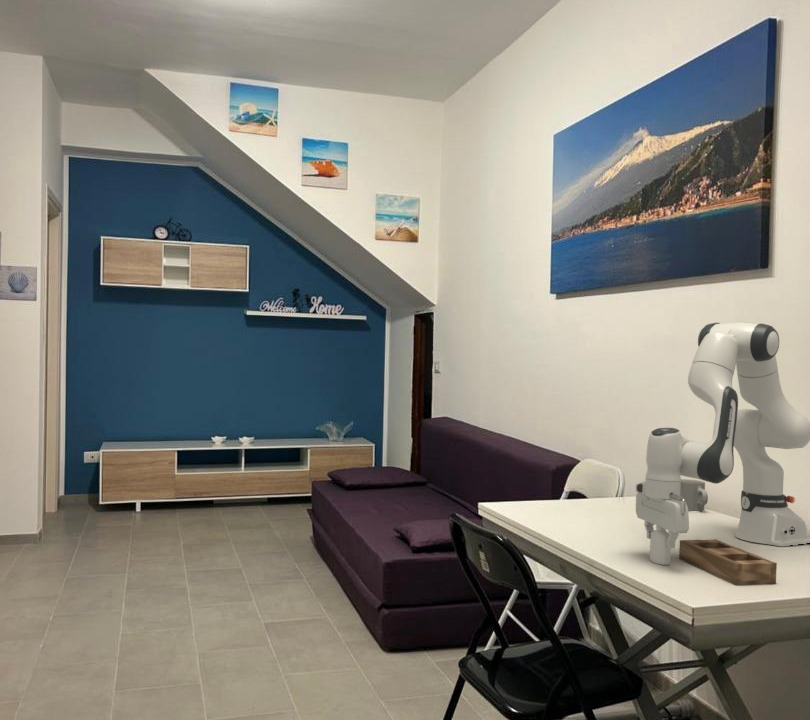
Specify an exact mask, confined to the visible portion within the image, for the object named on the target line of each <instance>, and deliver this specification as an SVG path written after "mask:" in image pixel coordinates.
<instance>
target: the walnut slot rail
mask: <svg viewBox="0 0 810 720" xmlns="http://www.w3.org/2000/svg"><path fill="white" fill-rule="evenodd" d="M678 553H679V554H678V555H679V556H678V559H679V560H680V561H683V562H684V563H687V564H689V565H691V566H693V567H696V568H697V569H700V570H702V571H704V572H706V573H709V574H711V575H713V576H714V577H717V578H719V579H721V580H723V581H726V582H728V583H730V584H732V585H734V586H749V585H750V586H752V585H753V586H756V585H757V586H758V585H776V584H777V565H778V564H777V562H774V561H773V560H770V559H767V558H764V557H761V556H759V555H756V554H754V553H752V552H749V551H747V550H744V549H741V548H739V547H738V546H737V547H736V546H734V545H731V544H728V543H726V542H724V541H722V540H718V539H681V540H679V552H678Z"/></svg>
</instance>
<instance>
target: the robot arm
mask: <svg viewBox="0 0 810 720" xmlns="http://www.w3.org/2000/svg"><path fill="white" fill-rule="evenodd" d="M697 337H698V338H697V345H698V348H697V351H696V352H695V355H694V357H693V359H692V363H691V366H690V369H689V373H688V377H687V383H688V387H689V389H690V390H691V392H692V393H693V394H694V396H696V397H697V398H698V399H700V400H701V401H703V402H704V403H706V404H708V405H710V406H712V407H713V408H714V413H715V416H714V422H713V430H712V438H711V439H710V441H709V442H702V441H694V440H689V439H687V438H685V437H684V436H683V435H681V434H682V433H681V431H680V430H679V429H677V428H675V427H659V428H655V429H653V430H652V431H650V433H649V437H648V439H647V446H646V447H647V448H646V457H645V458H646V459H645V460H646V466H647V468H646V469H647V470H646V473H645V481H641V482H638V483H636V484H635V491H636V492H637V493H636V495H635V514H636V517H637V518H638V519H640V520H642V521H644V527H645V531H646V538H647V539H649V540H651V532H652V531H654V530H655V529H654V526H656V525H657V526H659V527H662V528H664V529H666V531H668V534H669V538H668V540H666V546H667V547H669V548H671V549H675V547H676V541H677V539H678V537H679V535H680V534H688V531H689V529H690V519H689V518H690V517H689V516H690V515H689V511H688V507H687V505H686V502H685V501H684V499H683V497H682V496H680V490H681V479H682V476H683V477H686V478H691V479H695V480H697V479H698V480H700V481H703V482H709V483H712V484H716V485H717V484H720V483H722V482H724V481H725V480H726V479H728V478H729V477H730V475H731V474H732V473H733V470H734V467H735V465H734V464H735V461H734V460H735V459H734V457H735V455H734V448H735V450H736V452H737V453H738V455H739V457H740V460H741V464H742V476H743V477H742V481H743V482H742V483H743V484H742V490H741V495H740V507H741V511H740V517H739V523H738V527H737V529H736V533H735V535H734V536H735V537H736V538H737V539H740V540H743V541H746V542H751V543H757V544H764V545H771V546H776V547H790V545H793V546H799V545H798V544H804V545H807V544H806V543H810V536H808V532H807V531H808V528H807V525H806V522H805V520H804V519H803V518H801V517H800V516H799V515H798V514H797V513H795V511H793V510H792V509H791V508H790V507H788V506H789V505H788V503H790V504H794V503H795V502H796V498H795V496H791V495H785V494H784V481H785V480H784V479H785V478H784V476H785V473H784V472H785V471H784V469H783V467H782V466H781V464H780V463H779V462H777V461H776V460H774V459H773V458H771V457H770V456H769V455H768V454H767V450H766V448H772V449H781V450H792V449H793V450H794V449H803V448H805V447H806V446H807V445H808V444H809V442H810V420H809V419H808V418H807V417H806V416H805V415H804V414H801V413H800V412H799V411H798V410H796V409H795V408H794V407H793V406H792V405H791V404H790V403H789V401H788V400H787V399H786V397H785V395H784V393H783V390H782V386H781V381H780V376H779V368H778V362H777V356H776V355H777V353H778V351H779V348H780V336H779V333H778V330H776V328H774V327H773V326H772V325H769V324H766V323H753V322H742V321H737V322H722V323H720V322H712V323H708V324H706V325H704V327H703V328H702V329H701V330H700V331H699V333H698V336H697ZM735 370H736V375H737V381H738V388H739V394H740V396H741V398H743V400H744V401H745V402H746V403H748V404H750V406H751V405H752V406H753V407H755V408H756V409H750V408H749V409H748V408H743V409H739V397H738V393H737V391H736V390H735V389H734V388H733V377H734V374H735Z"/></svg>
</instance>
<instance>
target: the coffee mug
mask: <svg viewBox="0 0 810 720" xmlns="http://www.w3.org/2000/svg"><path fill="white" fill-rule="evenodd" d="M705 488H706V481H704V480H699V479H698V480H697V479H687V478H681V490H680V496H682V497H683V499H684V501H685V502H686V505H687V507H688V512H690V511H702V512H704V511H705V506H706V505H707V504H708V501H709V496H708V495H709V494H708V492H707V490H706V489H705ZM703 510H704V511H703Z"/></svg>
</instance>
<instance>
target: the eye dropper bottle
mask: <svg viewBox="0 0 810 720" xmlns="http://www.w3.org/2000/svg"><path fill="white" fill-rule="evenodd" d="M655 528H656V529H654V531H652V532H651V539H650V546H649V561H650V562H652V563H654V564H658V565H662V566H668V565H669V566H670V564H671V554H672V553H671V551H672V548H669V547H667V546H666V540H668V538H669V534H668V532H667V529H664V528H662V527H659V526H657V525H655Z"/></svg>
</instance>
